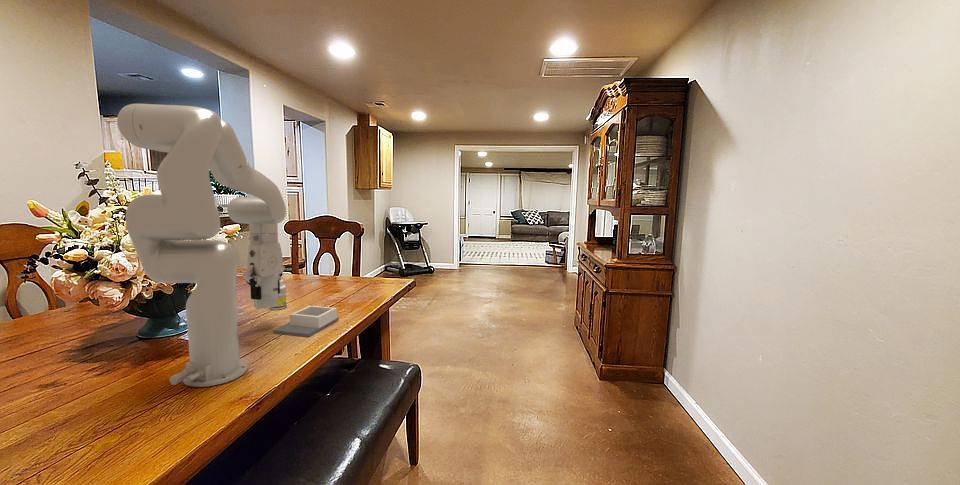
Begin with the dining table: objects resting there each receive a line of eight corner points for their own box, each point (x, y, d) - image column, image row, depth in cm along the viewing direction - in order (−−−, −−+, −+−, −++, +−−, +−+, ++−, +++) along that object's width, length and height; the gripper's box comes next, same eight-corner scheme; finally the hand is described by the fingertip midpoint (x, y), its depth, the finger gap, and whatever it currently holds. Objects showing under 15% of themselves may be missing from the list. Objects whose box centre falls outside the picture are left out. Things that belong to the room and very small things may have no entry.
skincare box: (257, 309, 117) (256, 269, 116) (253, 306, 120) (251, 267, 119) (279, 306, 121) (278, 267, 120) (274, 303, 125) (273, 266, 124)
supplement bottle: (269, 306, 144) (268, 279, 142) (286, 305, 146) (285, 278, 145) (269, 311, 139) (268, 282, 137) (286, 309, 141) (285, 281, 140)
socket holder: (308, 337, 116) (308, 322, 115) (273, 333, 118) (272, 318, 117) (338, 320, 131) (338, 307, 131) (306, 316, 134) (306, 304, 133)
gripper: (252, 242, 110) (255, 304, 111) (293, 237, 127) (295, 291, 128) (230, 241, 111) (232, 302, 113) (273, 236, 128) (275, 289, 130)
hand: (265, 295), depth 121 cm, fingers closed on skincare box, 7 cm apart
